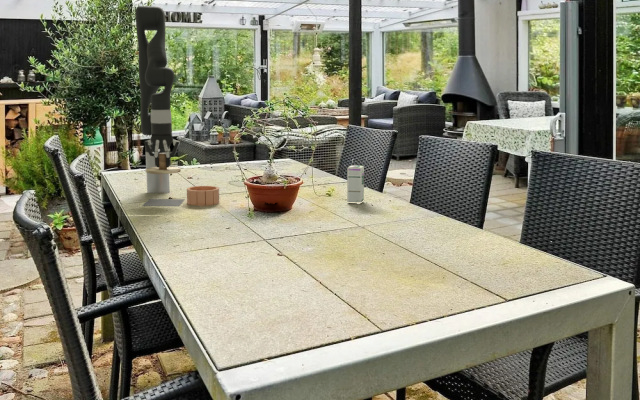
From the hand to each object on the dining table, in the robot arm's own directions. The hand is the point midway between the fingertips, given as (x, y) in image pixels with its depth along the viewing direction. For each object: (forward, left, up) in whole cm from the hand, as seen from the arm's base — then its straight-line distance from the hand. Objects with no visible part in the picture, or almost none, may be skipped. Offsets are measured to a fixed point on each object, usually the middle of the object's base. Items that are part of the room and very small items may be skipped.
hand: (162, 166), depth 245 cm
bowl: (0, +15, -14) cm, 21 cm away
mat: (0, 0, -14) cm, 14 cm away
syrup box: (-2, +74, -14) cm, 75 cm away
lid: (0, 0, -2) cm, 2 cm away
